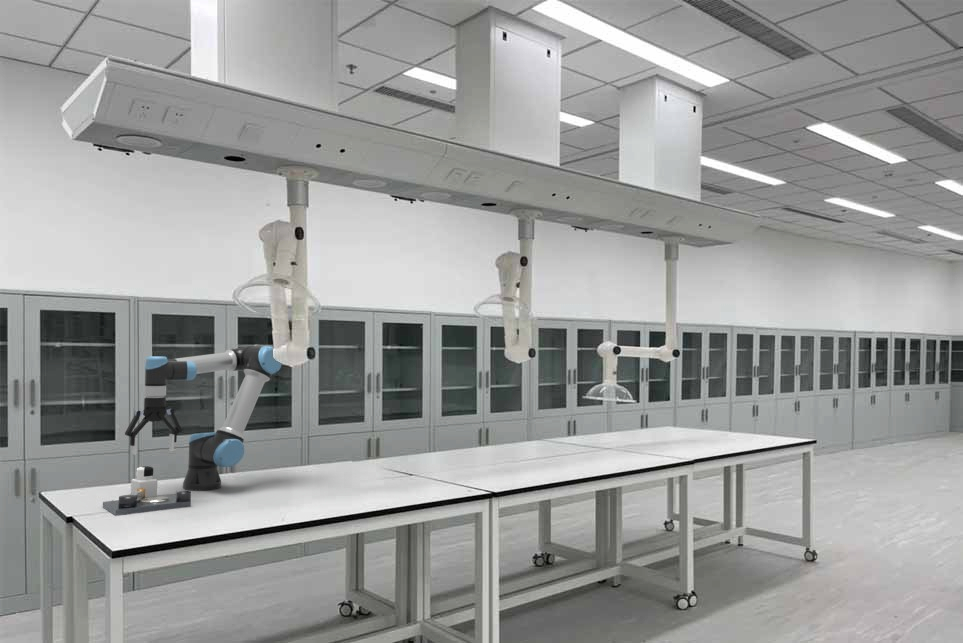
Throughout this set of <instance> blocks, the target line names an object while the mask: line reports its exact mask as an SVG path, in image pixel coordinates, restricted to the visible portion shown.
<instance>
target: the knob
mask: <svg viewBox="0 0 963 643" xmlns="http://www.w3.org/2000/svg"><path fill="white" fill-rule="evenodd" d="M175 494H176V501H177V502H188V501H191V502H192V490H176V492H175Z"/></svg>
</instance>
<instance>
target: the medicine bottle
mask: <svg viewBox="0 0 963 643" xmlns="http://www.w3.org/2000/svg"><path fill="white" fill-rule="evenodd" d="M135 474H136V476H135V478H132V479H130V480H131V481H130V482H131V484H130V494H131V493H133V492H134V491H136V490H137V489H140V488H144V489H145V497H151V496H158V479H156V478H154V468H153V467H152V466H147V465H145V466H140V467H137V468H136V472H135Z"/></svg>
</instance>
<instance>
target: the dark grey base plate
mask: <svg viewBox="0 0 963 643" xmlns="http://www.w3.org/2000/svg"><path fill="white" fill-rule="evenodd" d="M191 502H192V500H191V501H188V502H177V501H176V493H172V494H171V493H170V494H162V495H157V496H151V497H145V498H142V499H140V500H138V501H137V505H136V506H133V507H119V506H118V503H119V499H117V500H115V499H114V500H107V501H102V508H103V509H105V510H106V511H107V512H109V513H111V514H113V515H114V516H116V517H117V516H123V515H132V514H140V513H149V512H156V511H163V510H165V511H166V510H171V509H180V508H188V507H189V508H190V507H192V504H191Z"/></svg>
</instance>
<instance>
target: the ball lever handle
mask: <svg viewBox="0 0 963 643" xmlns="http://www.w3.org/2000/svg"><path fill="white" fill-rule="evenodd" d="M142 498H145V489H144V488H140V489H137V490H136V491H134V492H133V493H131V492H130V493H129V494H124V495H119V496H118V500H119V503H118V506H119V507H133V506H136V505H137V501H138V500H140V499H142Z"/></svg>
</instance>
